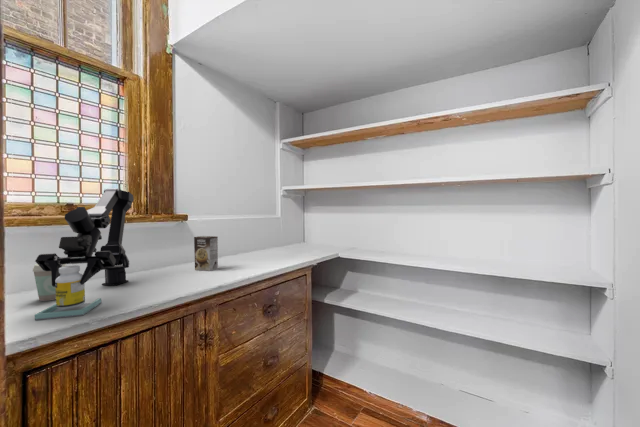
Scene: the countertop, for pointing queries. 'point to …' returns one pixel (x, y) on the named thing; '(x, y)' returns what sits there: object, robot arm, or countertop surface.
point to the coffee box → (206, 253)
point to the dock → (66, 311)
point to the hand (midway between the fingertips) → (67, 284)
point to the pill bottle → (69, 288)
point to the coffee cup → (44, 283)
